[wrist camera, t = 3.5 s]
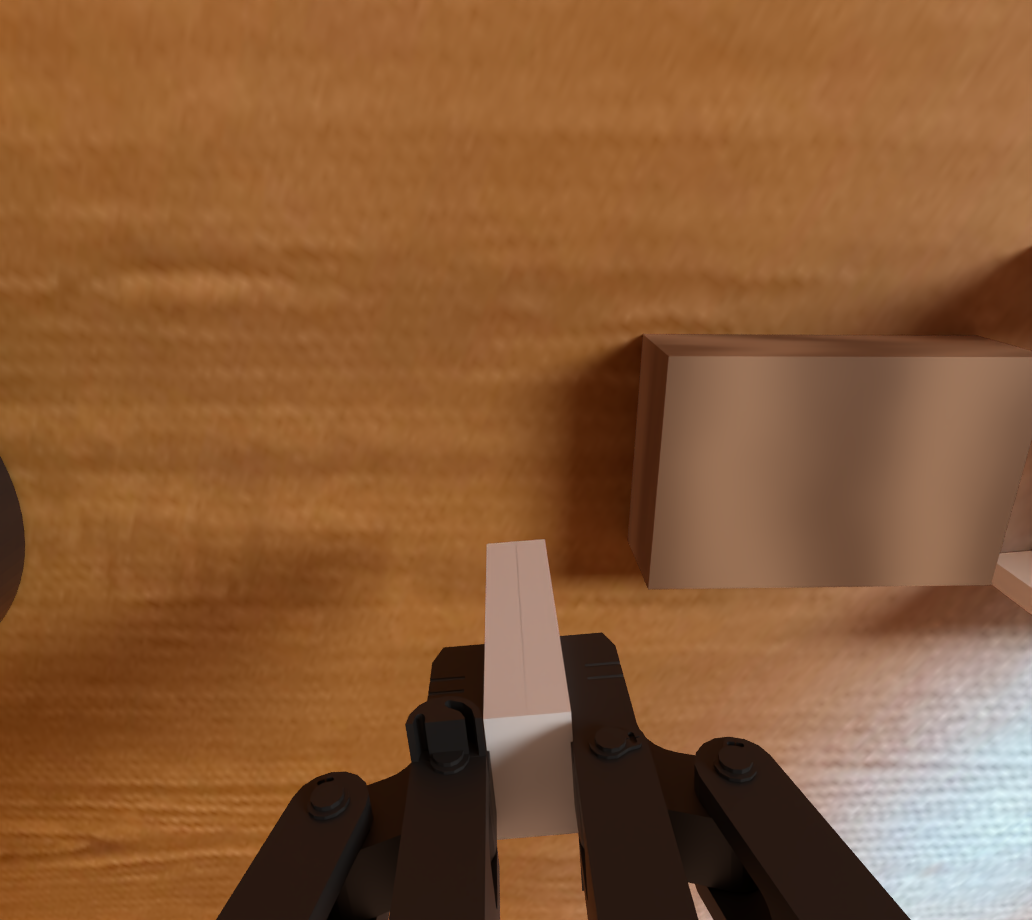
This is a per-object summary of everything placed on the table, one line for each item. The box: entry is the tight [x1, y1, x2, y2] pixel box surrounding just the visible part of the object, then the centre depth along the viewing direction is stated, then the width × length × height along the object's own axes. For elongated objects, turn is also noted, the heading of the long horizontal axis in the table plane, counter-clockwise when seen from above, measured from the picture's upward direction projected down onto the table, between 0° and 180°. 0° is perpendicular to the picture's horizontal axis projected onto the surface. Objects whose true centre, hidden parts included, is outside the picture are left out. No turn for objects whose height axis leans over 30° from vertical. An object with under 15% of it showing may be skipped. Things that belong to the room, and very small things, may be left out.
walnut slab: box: [628, 334, 1032, 589], centre depth 25 cm, size 12×8×4 cm, turn 89°
